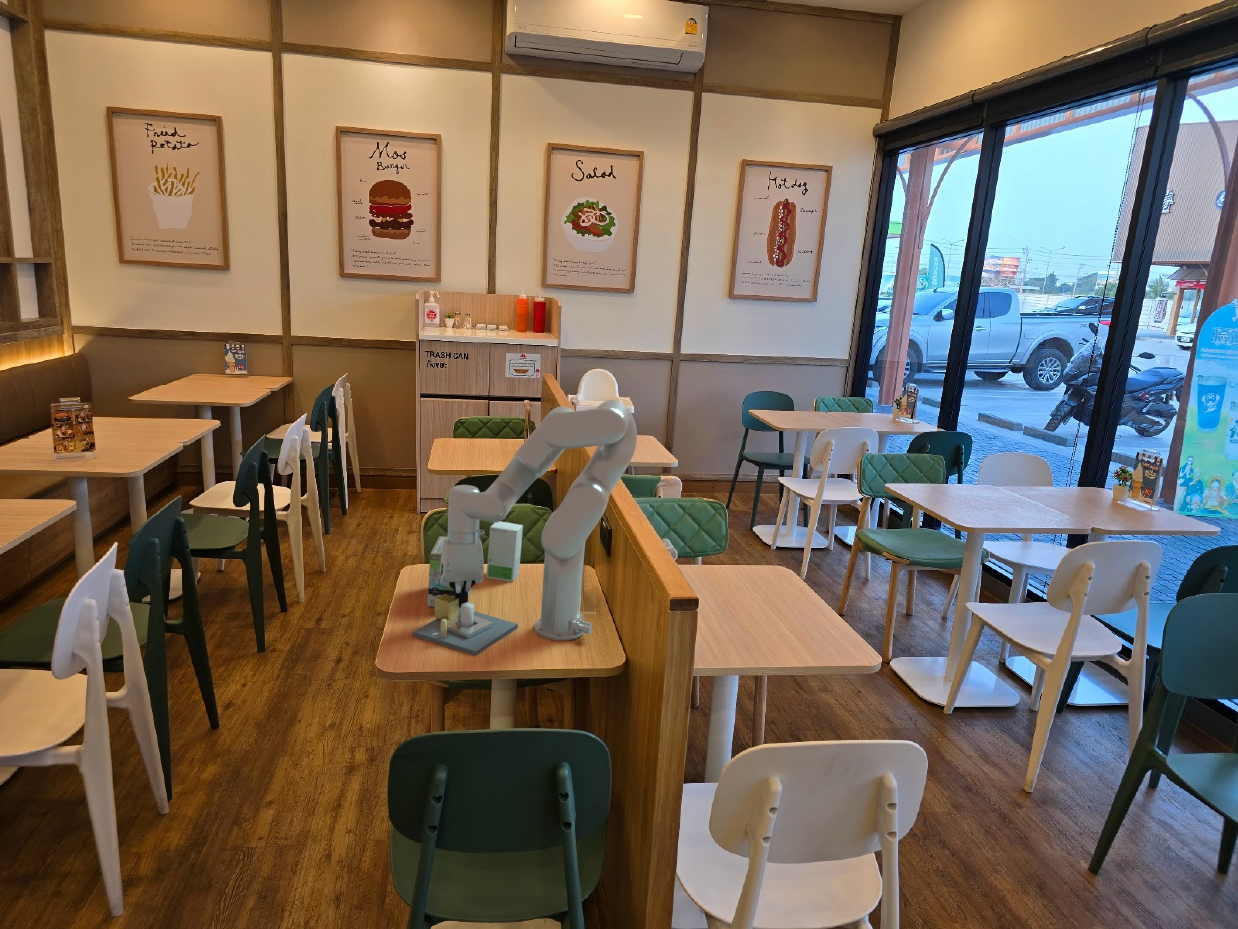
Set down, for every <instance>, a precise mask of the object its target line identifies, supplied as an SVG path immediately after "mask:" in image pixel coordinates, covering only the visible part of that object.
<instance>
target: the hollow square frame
mask: <svg viewBox="0 0 1238 929" xmlns="http://www.w3.org/2000/svg"><path fill="white" fill-rule="evenodd" d="M458 606H459V599H458V598H456V597H453V596H450V595H447V594H444V595H441V596H439V597H436V598H435V607H434V619H439V620H442V619H446V620H447V630H448V631H450V632H453V633H455V634H458V635H460V636H463V637H465V638H470V637H472V636H474V635H476V634H478V633H480V632H482V631H484V630H486V629H489V628H491V627H493V622H490V621H488V620H485V619H482V618H480V617H477V616H474V615H473V624H474V625H473V626H471V627H469V628H465V627H463V626H460V624H461V615H458ZM440 628H441V623H440Z"/></svg>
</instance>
